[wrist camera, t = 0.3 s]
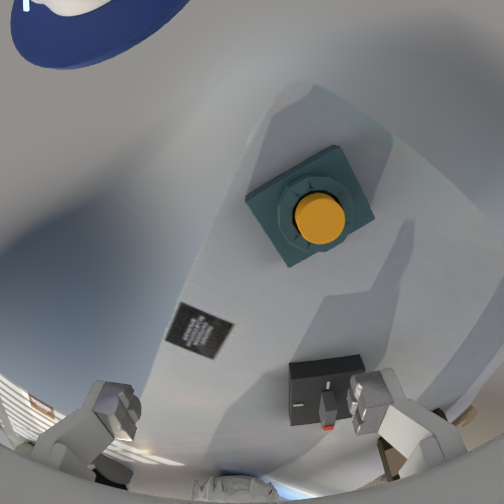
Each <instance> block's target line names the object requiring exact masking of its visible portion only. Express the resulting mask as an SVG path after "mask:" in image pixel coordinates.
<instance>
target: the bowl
mask: <svg viewBox="0 0 504 504" xmlns="http://www.w3.org/2000/svg"><path fill="white" fill-rule="evenodd" d="M278 497H279V494H277V490H276V489H275V488H274V486H273V484H272V483H271V482H270V484H269V483H265V482H264V481H262V480H260V479H258V478H255V477H251V476H244V475H233V476H221V477H217V478H213V476H212V475H211V477H210V478H209V479H208V481H206V482H205V483H203V484H202V485H201V486H200V485H199V484H198V482H197V481H195V484H194V488H193V491H192V501H203V502H221V503H262V502H277V500H278Z"/></svg>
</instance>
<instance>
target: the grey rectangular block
mask: <svg viewBox="0 0 504 504" xmlns="http://www.w3.org/2000/svg"><path fill="white" fill-rule="evenodd" d="M336 414H337V406H336V402H335V398H334V394H333V391H327V392H322V393H321V400H320V407H319V415H320V421H321V426H322V430H324V431H325V430H332V429H333V427H334V423H335V419H336Z"/></svg>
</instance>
